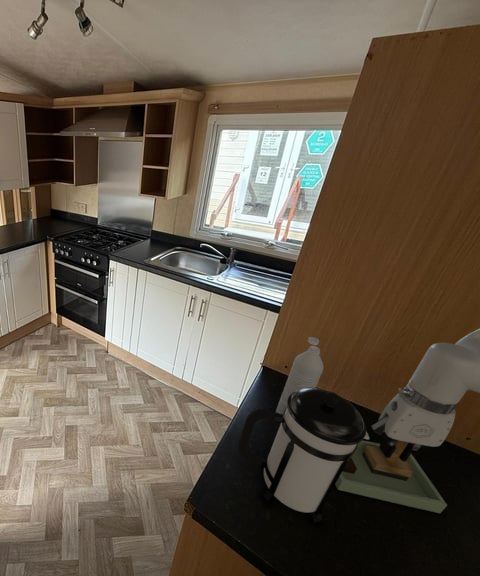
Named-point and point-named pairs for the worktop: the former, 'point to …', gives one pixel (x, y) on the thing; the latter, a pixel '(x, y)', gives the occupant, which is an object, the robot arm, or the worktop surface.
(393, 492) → the tray
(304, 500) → the coffee press
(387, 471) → the brush
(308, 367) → the water bottle
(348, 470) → the brown square block
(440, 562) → the worktop surface
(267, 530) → the worktop surface
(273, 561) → the worktop surface
